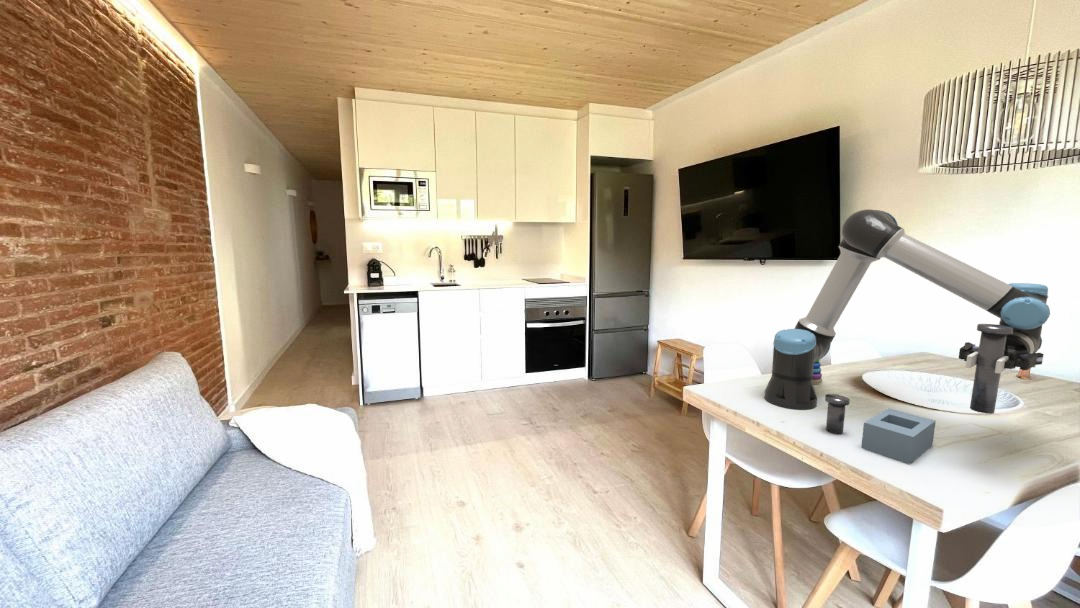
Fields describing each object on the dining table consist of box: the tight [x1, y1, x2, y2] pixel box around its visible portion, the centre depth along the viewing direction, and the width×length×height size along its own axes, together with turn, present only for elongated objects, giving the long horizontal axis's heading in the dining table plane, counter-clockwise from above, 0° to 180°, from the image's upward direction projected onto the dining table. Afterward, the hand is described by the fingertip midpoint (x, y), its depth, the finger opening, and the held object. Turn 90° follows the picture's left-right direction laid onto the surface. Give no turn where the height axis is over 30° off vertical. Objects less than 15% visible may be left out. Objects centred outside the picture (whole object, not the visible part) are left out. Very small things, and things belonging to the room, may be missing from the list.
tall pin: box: [969, 323, 1013, 415], centre depth 99 cm, size 6×6×20 cm
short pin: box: [824, 393, 851, 435], centre depth 120 cm, size 6×6×10 cm
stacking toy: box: [812, 359, 823, 385], centre depth 160 cm, size 8×8×19 cm
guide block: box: [861, 407, 937, 465], centre depth 111 cm, size 16×10×7 cm, turn 123°
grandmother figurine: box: [1015, 365, 1037, 381], centre depth 160 cm, size 8×4×13 cm, turn 169°
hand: (983, 364), depth 95 cm, fingers closed on tall pin, 4 cm apart
